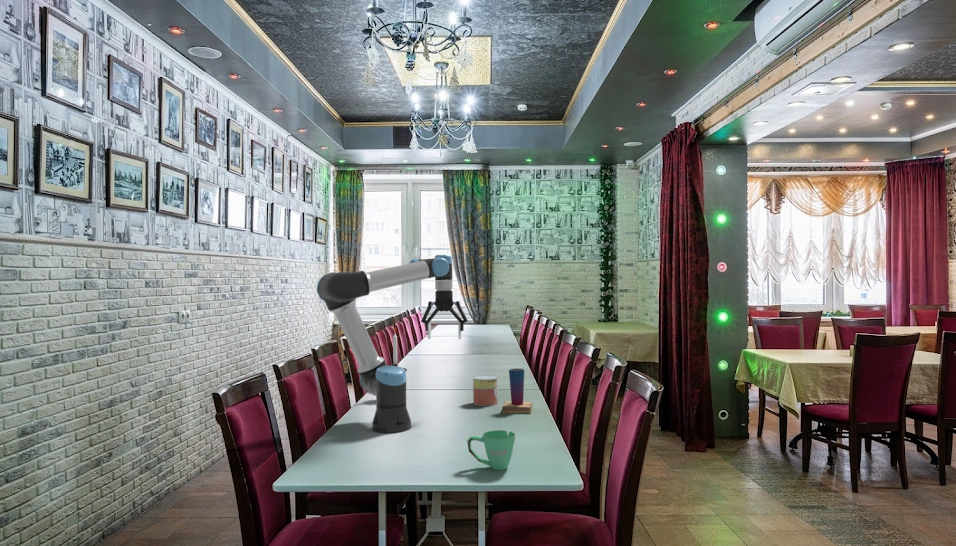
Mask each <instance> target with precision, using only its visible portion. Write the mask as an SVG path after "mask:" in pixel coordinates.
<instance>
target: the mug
mask: <svg viewBox="0 0 956 546" xmlns="http://www.w3.org/2000/svg"><path fill="white" fill-rule="evenodd" d="M515 440H516V433H515V432H514V431H508V432H507V430H500V429H499V430H496V429H495V430H489V431H486V432H484V433H483V434H482V436H479V435H471V436H470V437H469V438H468V439H467V440H466V442H467V450H468V452H469V454H470V455H472V457H474V458H475V460H476V461H478V462H480V463H482V464H484V465H485V466H486V465H487V466H489V467H490V468H491V469H492V470H495V471H504V470H507V469H508V467H509V465H510V462H511V458H512V455H513V451H514V445H515V442H516V441H515ZM472 441H477V442H481V443H483V444H484V449H485V453H486V457H487V459H488V460H487V459H484V458H483V457H480V456H479V455H478V454H477V453H476V452H475V451H474V449H473V448H472Z"/></svg>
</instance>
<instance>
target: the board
mask: <svg viewBox="0 0 956 546" xmlns="http://www.w3.org/2000/svg"><path fill="white" fill-rule="evenodd" d="M501 409H502V414H531V413H532V410H533V401H523V405H512V403H511V401H510V400H509V401H508V400H507V401H504V403H503V404H502V407H501Z"/></svg>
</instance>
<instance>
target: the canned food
mask: <svg viewBox="0 0 956 546" xmlns="http://www.w3.org/2000/svg"><path fill="white" fill-rule="evenodd" d="M472 387H473V388H472V389H473V393H472V394H473V405H474V404H475V406H477V405H478V406H479V407H491V406H492V407H493V406H496V405H497V404H498V403H499V402H498V376H495V375H476V376H473V377H472Z"/></svg>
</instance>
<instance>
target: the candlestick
mask: <svg viewBox="0 0 956 546" xmlns="http://www.w3.org/2000/svg"><path fill="white" fill-rule="evenodd" d="M393 333H394V334H393V336H392V340H393V341H392V350H393V351H392V352H393V355H392V356H393V363H391V366H399V363H398V336H397V334H396V333H397V328H396V326H395V327H394V331H393ZM402 368H403V369H404V370H405V372H407V370H408V369H407V368H406V367H402Z"/></svg>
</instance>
